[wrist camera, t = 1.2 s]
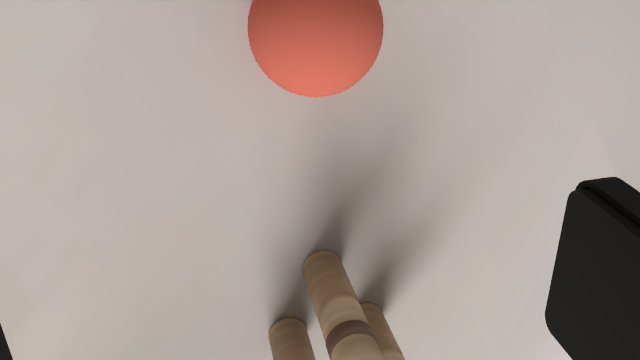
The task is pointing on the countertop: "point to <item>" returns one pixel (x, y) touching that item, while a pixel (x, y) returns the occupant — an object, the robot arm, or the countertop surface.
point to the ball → (315, 42)
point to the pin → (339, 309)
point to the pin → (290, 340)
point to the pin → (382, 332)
